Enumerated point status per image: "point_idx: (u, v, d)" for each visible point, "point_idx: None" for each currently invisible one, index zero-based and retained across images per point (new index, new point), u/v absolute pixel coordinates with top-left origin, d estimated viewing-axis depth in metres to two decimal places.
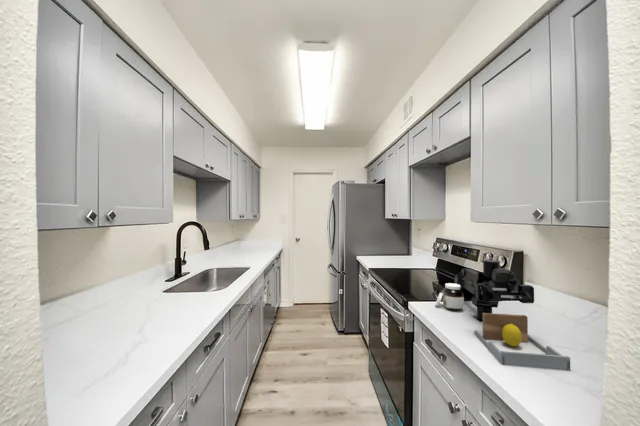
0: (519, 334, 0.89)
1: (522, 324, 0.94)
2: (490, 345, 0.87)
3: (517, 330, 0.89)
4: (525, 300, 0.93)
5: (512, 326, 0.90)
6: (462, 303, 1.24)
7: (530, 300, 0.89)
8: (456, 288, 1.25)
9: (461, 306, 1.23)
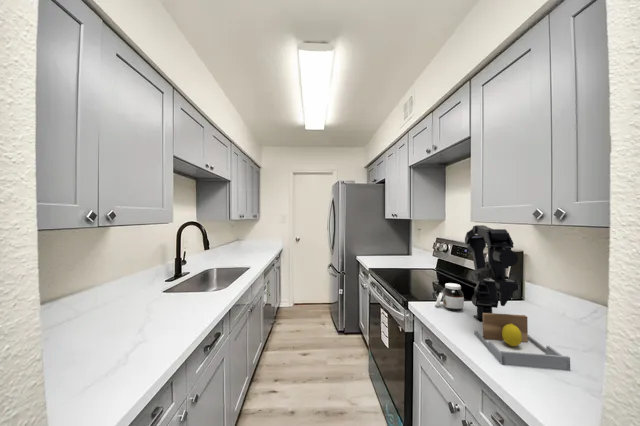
0: (519, 334, 0.89)
1: (522, 324, 0.94)
2: (490, 345, 0.87)
3: (517, 330, 0.89)
4: None
5: (512, 326, 0.90)
6: (462, 303, 1.24)
7: None
8: (456, 288, 1.25)
9: (461, 306, 1.23)
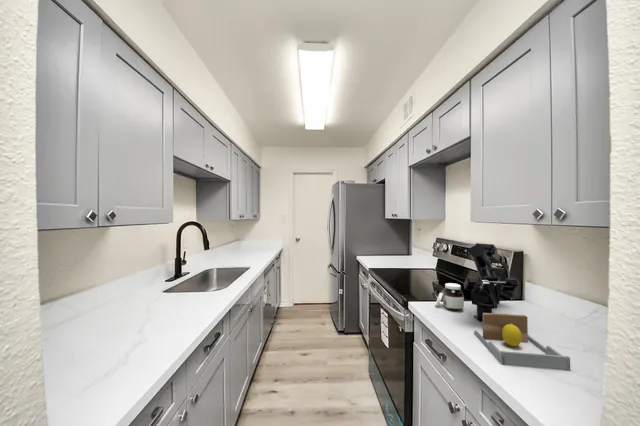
0: (519, 334, 0.89)
1: (522, 324, 0.94)
2: (490, 345, 0.87)
3: (517, 330, 0.89)
4: None
5: (512, 326, 0.90)
6: (462, 303, 1.24)
7: None
8: (456, 288, 1.25)
9: (461, 306, 1.23)
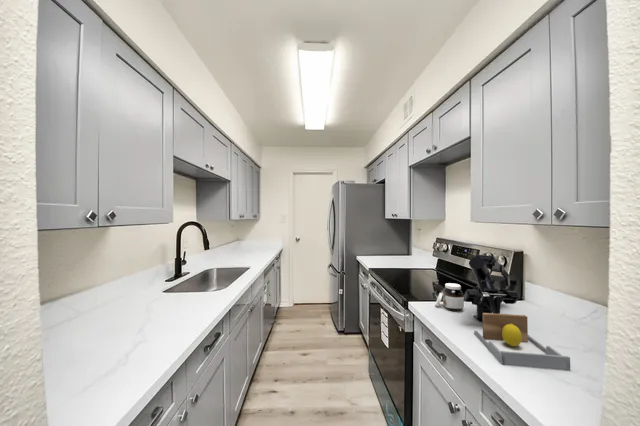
0: (519, 334, 0.89)
1: (522, 324, 0.94)
2: (490, 345, 0.87)
3: (517, 330, 0.89)
4: None
5: (512, 326, 0.90)
6: (462, 303, 1.24)
7: None
8: (456, 288, 1.25)
9: (461, 306, 1.23)
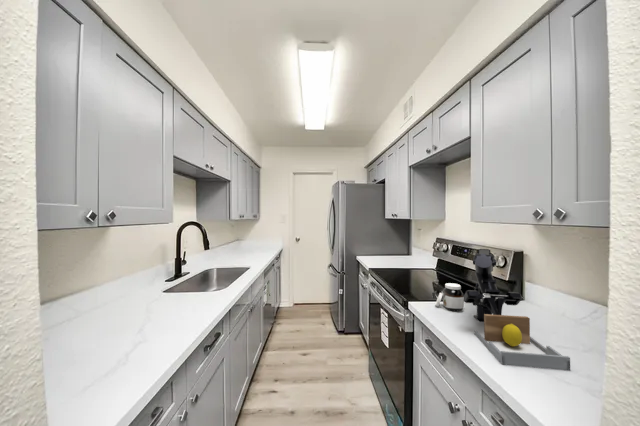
0: (519, 334, 0.89)
1: (524, 325, 0.93)
2: (490, 345, 0.87)
3: (517, 330, 0.89)
4: None
5: (512, 326, 0.90)
6: (462, 303, 1.24)
7: None
8: (456, 288, 1.25)
9: (461, 306, 1.23)
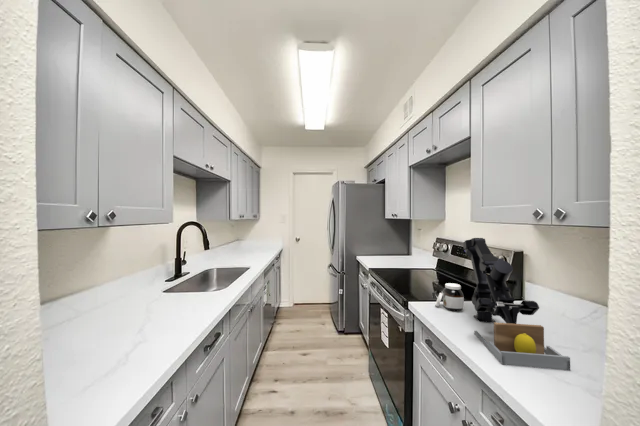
0: (533, 345, 0.81)
1: (538, 335, 0.85)
2: (490, 345, 0.87)
3: (531, 341, 0.82)
4: None
5: (525, 336, 0.83)
6: (462, 303, 1.24)
7: None
8: (456, 288, 1.25)
9: (461, 306, 1.23)
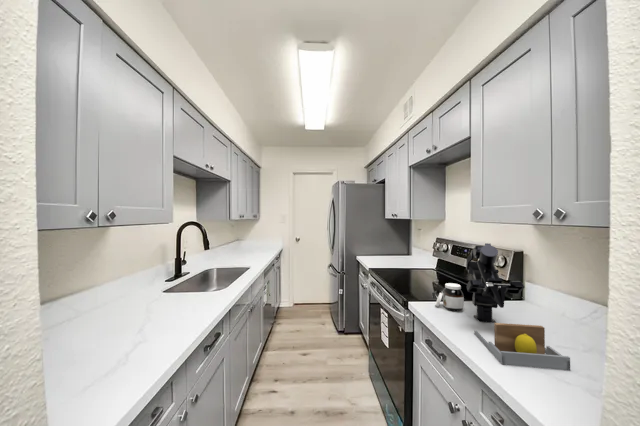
0: (534, 346, 0.81)
1: (538, 336, 0.85)
2: (490, 345, 0.87)
3: (532, 341, 0.81)
4: None
5: (526, 337, 0.82)
6: (462, 303, 1.24)
7: None
8: (456, 288, 1.25)
9: (461, 306, 1.23)
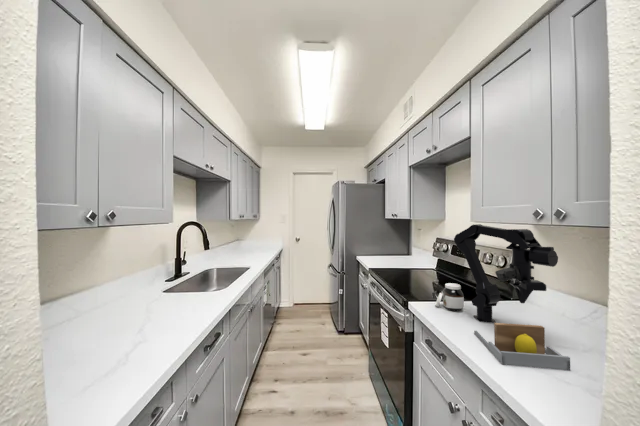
0: (534, 346, 0.81)
1: (538, 336, 0.85)
2: (490, 345, 0.87)
3: (532, 341, 0.81)
4: None
5: (526, 337, 0.82)
6: (462, 303, 1.24)
7: None
8: (456, 288, 1.25)
9: (461, 306, 1.23)
